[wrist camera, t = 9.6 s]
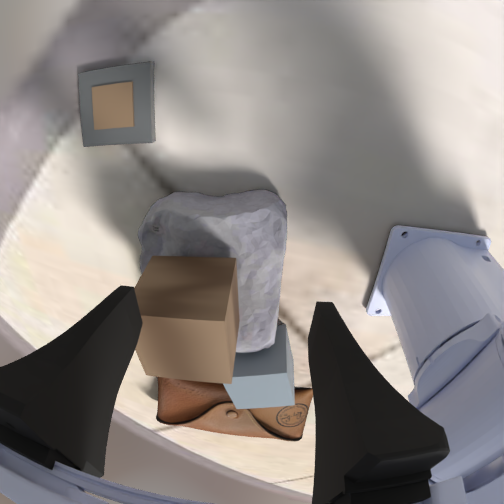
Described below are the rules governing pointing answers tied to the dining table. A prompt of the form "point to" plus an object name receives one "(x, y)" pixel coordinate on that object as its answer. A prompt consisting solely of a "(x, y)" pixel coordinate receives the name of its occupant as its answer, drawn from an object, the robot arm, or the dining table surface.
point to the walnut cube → (189, 318)
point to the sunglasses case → (228, 411)
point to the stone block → (227, 248)
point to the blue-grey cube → (264, 376)
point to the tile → (117, 105)
